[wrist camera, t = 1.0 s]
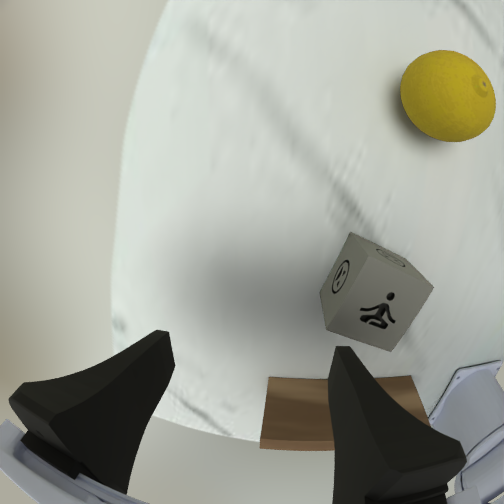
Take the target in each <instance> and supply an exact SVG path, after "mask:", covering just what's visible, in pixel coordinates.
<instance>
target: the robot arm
mask: <svg viewBox="0 0 504 504" xmlns="http://www.w3.org/2000/svg"><path fill="white" fill-rule="evenodd" d="M501 365H502V361H496V362H492V363H488V364H483V365H479V366H474V367H469V368H463V369H459V370H458V371H457V372H456V373H455V375H454V377H453V379H452V381H451V383H450V384H449V386H448V388H447V390H446V391H445V393H444V395H443V397H442V398H441V400H440V402H439V403H438V405H437V406H436V408H435V410H434V411H433V413H432V414H431V416H430V417H429V419H428V420H429V423H430V425H433V428H434V429H433V428H431V427H430V426H428V425H426V424H425V423H423V422H422V421H420V420H419V419H417V418H416V417H415V416H413V415H412V414H410V413H409V412H408V411H407V410H405V409H404V408H403V407H402V406H401V405H399V404H398V403H397V402H396V401H395V400H394V399H393V398H392V397H391V396H390V395H389V394H388V393H387V392H386V391H385V390H384V389H383V388H382V387H381V386H380V385H379V383H378V382H377V381H376V380H375V379H374V377H373V376H372V375H371V374H370V373H369V371H368V370H367V369H366V367H365V366H364V365H363V363H362V362H361V361H360V359H359V358H358V357H357V355H356V354H355V352H354V351H353V350H352V348H351V347H350V346H336V348H335V352H334V357H333V361H332V365H331V369H330V373H329V377H328V402H329V409H330V416H331V423H332V430H333V437H334V448H335V470H334V471H335V472H334V490H333V503H332V504H504V495H503V496H502V497H500V498H499V499H497V500H496V501H494V502H493V503H488V502H489V501H491V500H492V499H494V498H495V497H497V496H498V495H499V494H501V493H502V492H504V391H503V389H502V388H501V386H500V385H499V383H498V382H497V380H496V379H495V376H496V374H497V372H498V371H499V369H500V367H501ZM174 368H175V362H174V357H173V352H172V346H171V341H170V336H169V332H167V331H161V330H156V331H154V332H152V333H150V334H149V335H147V336H146V337H144V338H142V339H141V340H139V341H138V342H136V343H135V344H133V345H131V346H130V347H128V348H126V349H125V350H123V351H122V352H120V353H118V354H116V355H114V356H113V357H111V358H109V359H107V360H105V361H103V362H102V363H99V364H97V365H95V366H93V367H91V368H88V369H85V370H83V371H80V372H77V373H74V374H71V375H67V376H64V377H60V378H55V379H51V380H45V381H37V382H25V383H23V384H22V385H21V386H20V387H19V388H18V389H17V390H16V391H15V392H14V393H13V395H12V396H11V397H10V398H9V403H10V406H11V408H12V409H13V410H14V412H15V413H16V415H17V416H18V417H19V419H20V420H21V421H22V423H23V424H24V425H25V427H26V428H27V429H28V431H27V432H26V434H25V433H24V432H23V431H22V430H20V428H18V427H17V426H16V425H14V424H13V423H12V422H11V421H10V420H9V419H6V420H5V421H4V422H3V423H2V425H1V426H0V470H1V471H2V472H3V473H4V474H5V475H6V476H7V477H8V478H10V479H11V480H12V481H13V482H14V483H15V484H16V485H17V486H18V487H19V488H20V489H21V490H23V491H24V492H25V493H26V494H27V495H28V496H30V497H31V498H32V499H33V500H34V501H36V502H37V503H38V504H105V503H106V504H149V503H146V502H143V501H140V500H137V499H135V498H132V497H130V496H127V495H126V494H127V490H128V485H129V480H130V476H131V472H132V468H133V464H134V461H135V457H136V454H137V451H138V448H139V445H140V442H141V439H142V436H143V434H144V431H145V429H146V426H147V424H148V422H149V420H150V418H151V416H152V414H153V412H154V410H155V409H156V407H157V405H158V403H159V401H160V399H161V398H162V396H163V394H164V392H165V390H166V388H167V386H168V384H169V382H170V379H171V377H172V374H173V371H174ZM456 475H457V476H456ZM454 476H456V480H455V485H454V488H455V494H454V495H453V496H450V497H448V498H447V499H446V496H445V493H446V492H447V491H448V486H447V483H448V482H449V481H450V480H451V479H452V478H453V477H454Z"/></svg>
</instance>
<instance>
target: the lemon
mask: <svg viewBox="0 0 504 504" xmlns="http://www.w3.org/2000/svg"><path fill="white" fill-rule="evenodd" d="M400 93H401V100H402V104H403V107H404V109H405V111H406V113H407V115H408V117H409V118H410V120H411V121H412V122H413V124H414V125H416V126H417V127H418V128H419V129H420V130H421V131H422V132H424V133H425V134H427V135H429V136H430V137H432V138H435V139H438V140H442V141H446V142H462V141H466V140H469V139H472V138H474V137H476V136H478V135H480V134H481V133H482V132H483V131H485V130H486V129H487V128H488V127H489V125H490V123H491V122H492V120H493V118H494V114H495V109H496V99H495V94H494V90H493V87H492V84H491V82H490V80H489V78H488V77H487V75H486V74H485V72H484V71H483V70H482V68H481V67H480V66H479V65H478V64H476V63H475V62H474V61H473V60H472V59H470V58H468V57H467V56H465V55H463V54H460V53H457V52H455V51H447V50H438V51H433V52H429V53H426V54H423V55H421V56H419V57H418V58H417V59H415V60H414V61H413V62H412V63H411V64H410V65H409V66H408V67H407V69H406V71H405V73H404V74H403V76H402V81H401V86H400Z"/></svg>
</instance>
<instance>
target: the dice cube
mask: <svg viewBox="0 0 504 504" xmlns="http://www.w3.org/2000/svg"><path fill="white" fill-rule="evenodd" d="M433 288H434V287H433V286H432V285H431V284H430V283H429V282H428V281H427V280H426V279H425V278H424V277H423V275H422V274H421V273H420V272H419V271H418V270H417V269H416V268H415V267H414V266H413V265H412V264H411V263H409V262H408V261H407V260H406V259H405V258H403V257H401V256H399V255H397V254H395V253H393V252H391V251H389V250H387V249H385V248H383V247H381V246H379V245H377V244H375V243H373V242H371V241H369V240H367V239H364V238H362V237H360V236H358V235H356V234H354V233H352V232H350V234H349V236H348V238H347V240H346V242H345V244H344V246H343V248H342V250H341V252H340V254H339V256H338V258H337V260H336V262H335V264H334V266H333V268H332V270H331V272H330V274H329V276H328V278H327V279H326V281H325V283H324V285H323V287H322V289H321V291H320V297H321V302H322V308H323V314H324V320H325V326H326V330H328V331H331V332H334V333H337V334H340V335H342V336H345V337H348V338H351V339H354V340H357V341H360V342H363V343H366V344H369V345H371V346H374V347H378V348H381V349H384V350H387V351H390V352H391V351H392V350H393V349H394V347H395V346H396V345H397V343H398V342H399V340H400V339H401V338H402V336H403V335H404V333H405V332H406V331H407V329H408V328H409V326H410V325H411V323H412V322H413V320H414V319H415V317H416V316H417V314H418V313H419V311H420V310H421V308H422V306H423V305H424V303H425V302H426V300H427V298H428V297H429V295H430V293H431V292H432V290H433Z"/></svg>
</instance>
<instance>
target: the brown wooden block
mask: <svg viewBox="0 0 504 504" xmlns="http://www.w3.org/2000/svg"><path fill="white" fill-rule="evenodd" d="M374 379H375V380H376V381H377V382H378V383H379V385H380V386H381V387H382V388H383V389H384V390H385V391H386V392H387V393H388V394H389V395H390V396H391V397H392V398H393V399H394V400H395V401H396V402H397V403H398V404H399V405H401V406H402V407H403V408H404V409H405V410H407V411H408V412H409V413H410V414H412V415H413V416H415V417H416V418H417V419H419V420H420V421H422V422H423V423H425V424H426V425H428V426H430V427H431V425H430V423H429V420H428V417H427V415H426V412H425V409H424V407H423V404H422V402H421V399H420V397H419V394H418V392H417V389H416V387H415V385H414V382H413V380H412V377H411V376H401V377H388V378H374ZM260 448H261V449H275V450H294V451H296V450H297V451H328V450H329V451H330V450H335V448H334V437H333V430H332V423H331V416H330V409H329V402H328V379H294V378H276V377H269V380H268V388H267V395H266V402H265V410H264V417H263V423H262V430H261V437H260Z"/></svg>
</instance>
